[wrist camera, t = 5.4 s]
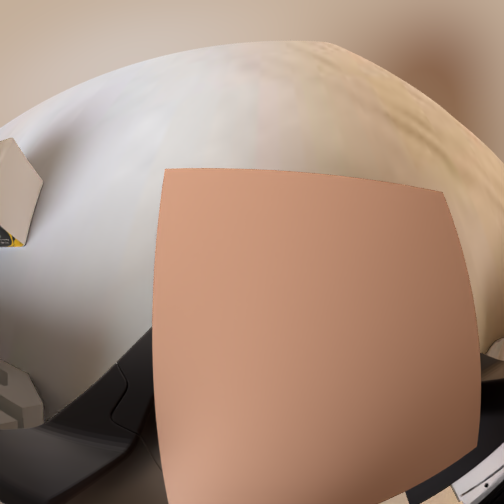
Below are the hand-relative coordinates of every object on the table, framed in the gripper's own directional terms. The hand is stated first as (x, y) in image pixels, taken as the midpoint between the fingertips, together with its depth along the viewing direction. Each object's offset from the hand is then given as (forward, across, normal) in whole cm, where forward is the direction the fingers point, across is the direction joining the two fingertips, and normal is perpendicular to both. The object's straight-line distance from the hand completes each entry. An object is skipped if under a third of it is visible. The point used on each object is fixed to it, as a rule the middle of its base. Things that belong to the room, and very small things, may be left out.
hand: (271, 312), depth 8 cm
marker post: (+4, 0, +6) cm, 7 cm away
